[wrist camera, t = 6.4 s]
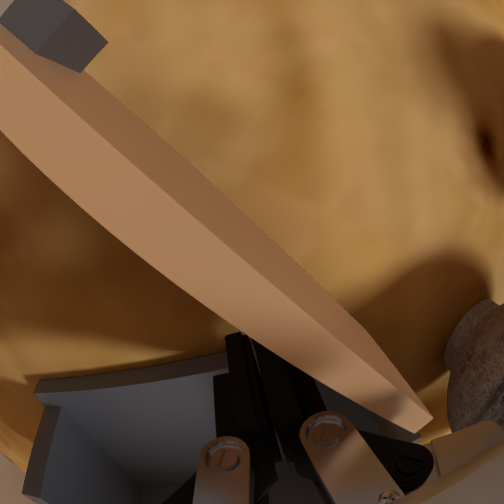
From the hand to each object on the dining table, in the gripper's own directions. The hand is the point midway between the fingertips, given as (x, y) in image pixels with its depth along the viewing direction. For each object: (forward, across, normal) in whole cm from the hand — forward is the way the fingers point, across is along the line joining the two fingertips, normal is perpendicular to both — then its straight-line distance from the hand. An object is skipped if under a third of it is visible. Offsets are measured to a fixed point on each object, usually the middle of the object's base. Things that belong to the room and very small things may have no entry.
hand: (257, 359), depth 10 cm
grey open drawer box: (+2, +5, +7) cm, 9 cm away
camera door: (+1, -1, -6) cm, 6 cm away
